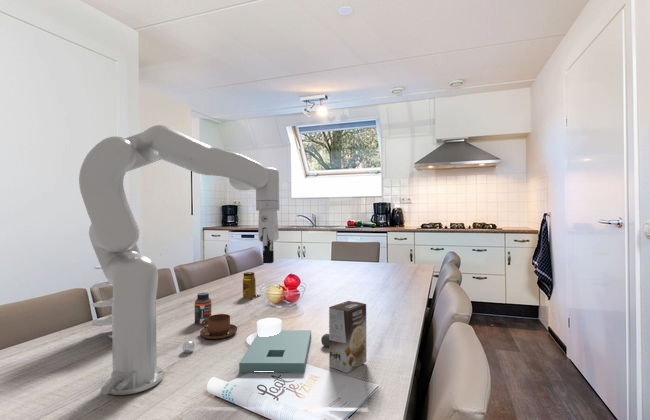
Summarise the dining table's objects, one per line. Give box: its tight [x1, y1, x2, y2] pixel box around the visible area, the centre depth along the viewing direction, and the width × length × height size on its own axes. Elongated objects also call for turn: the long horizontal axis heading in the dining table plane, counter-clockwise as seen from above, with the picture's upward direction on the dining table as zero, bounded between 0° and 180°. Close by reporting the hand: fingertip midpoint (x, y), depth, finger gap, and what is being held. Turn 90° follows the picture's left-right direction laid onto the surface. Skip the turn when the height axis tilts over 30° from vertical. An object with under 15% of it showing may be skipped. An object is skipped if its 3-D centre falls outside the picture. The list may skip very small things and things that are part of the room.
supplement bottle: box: [194, 292, 212, 326], centre depth 127 cm, size 6×6×11 cm
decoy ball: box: [320, 333, 329, 348], centre depth 105 cm, size 4×4×4 cm
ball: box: [181, 340, 196, 354], centre depth 101 cm, size 3×3×3 cm
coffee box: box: [328, 300, 367, 374], centre depth 92 cm, size 9×6×16 cm
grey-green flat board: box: [238, 329, 312, 374], centre depth 100 cm, size 24×17×2 cm
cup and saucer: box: [199, 313, 238, 340], centre depth 115 cm, size 12×12×6 cm
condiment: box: [242, 271, 261, 300], centre depth 166 cm, size 7×8×12 cm
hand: (268, 262), depth 110 cm, fingers closed
